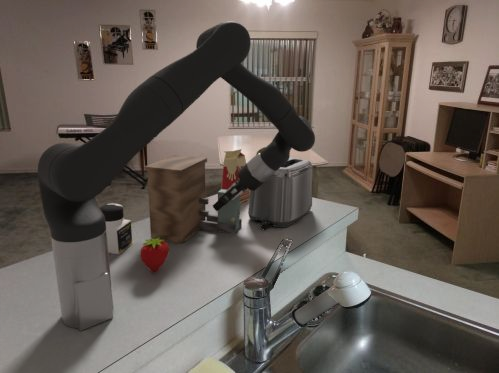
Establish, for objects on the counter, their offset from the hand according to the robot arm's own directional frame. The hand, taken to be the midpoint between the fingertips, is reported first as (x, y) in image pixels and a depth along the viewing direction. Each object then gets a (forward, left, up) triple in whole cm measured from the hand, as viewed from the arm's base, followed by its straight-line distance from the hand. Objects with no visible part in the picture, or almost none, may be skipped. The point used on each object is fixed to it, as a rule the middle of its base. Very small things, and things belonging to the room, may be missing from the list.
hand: (220, 204), depth 114 cm
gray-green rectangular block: (-2, -1, -8) cm, 8 cm away
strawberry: (-12, +29, -8) cm, 32 cm away
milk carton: (+18, -21, -8) cm, 29 cm away
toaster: (-5, -22, -8) cm, 24 cm away
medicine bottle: (+7, +31, -8) cm, 33 cm away
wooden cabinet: (+2, +8, -8) cm, 11 cm away
